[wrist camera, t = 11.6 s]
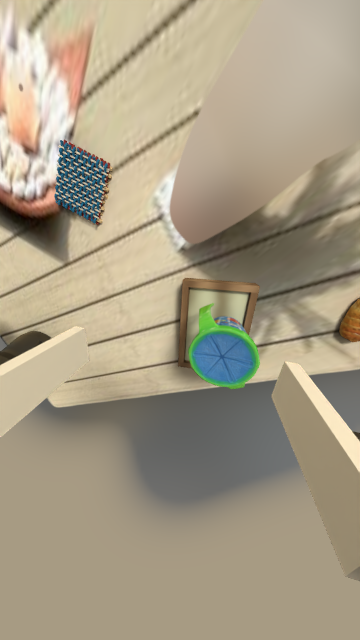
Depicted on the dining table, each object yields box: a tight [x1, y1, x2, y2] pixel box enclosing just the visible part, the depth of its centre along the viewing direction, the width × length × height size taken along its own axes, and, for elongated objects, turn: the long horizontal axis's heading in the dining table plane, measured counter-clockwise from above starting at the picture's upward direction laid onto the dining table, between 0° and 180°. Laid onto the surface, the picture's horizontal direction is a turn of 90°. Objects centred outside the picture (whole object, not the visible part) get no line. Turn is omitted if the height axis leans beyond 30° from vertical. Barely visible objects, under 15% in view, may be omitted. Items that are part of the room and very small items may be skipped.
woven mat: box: [55, 140, 112, 224], centre depth 32 cm, size 10×11×2 cm
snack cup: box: [188, 303, 260, 389], centre depth 30 cm, size 16×10×10 cm
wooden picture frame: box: [178, 278, 260, 368], centre depth 36 cm, size 14×20×4 cm
